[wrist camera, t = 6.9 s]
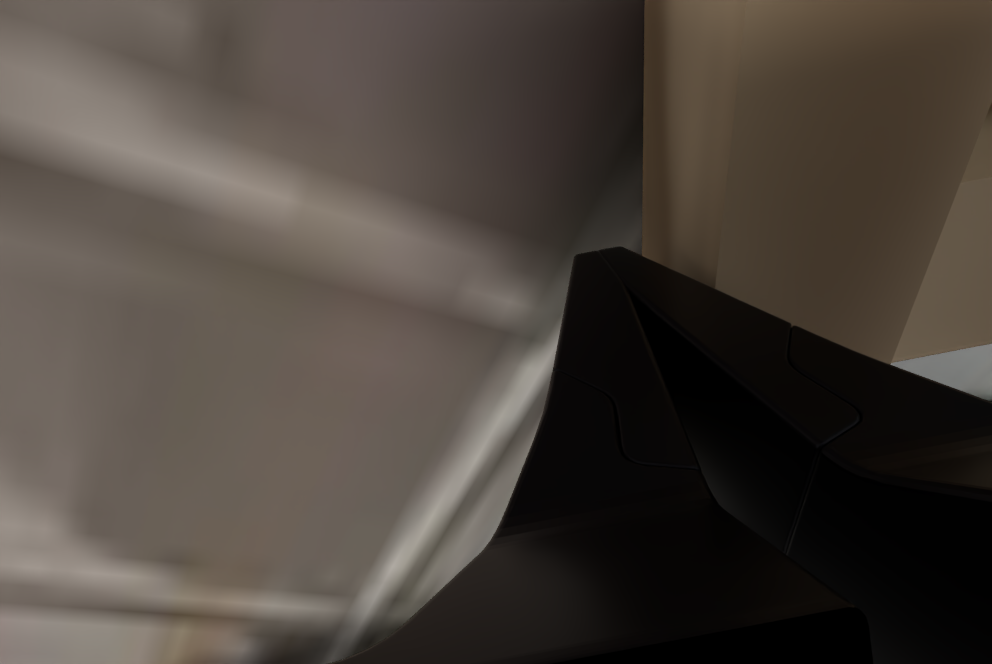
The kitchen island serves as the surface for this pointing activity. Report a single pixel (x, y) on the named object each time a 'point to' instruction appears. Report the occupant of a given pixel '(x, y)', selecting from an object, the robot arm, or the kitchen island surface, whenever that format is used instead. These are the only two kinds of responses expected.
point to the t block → (827, 163)
